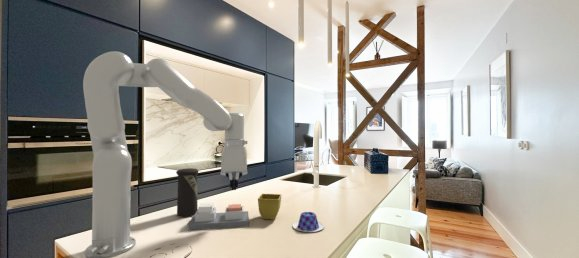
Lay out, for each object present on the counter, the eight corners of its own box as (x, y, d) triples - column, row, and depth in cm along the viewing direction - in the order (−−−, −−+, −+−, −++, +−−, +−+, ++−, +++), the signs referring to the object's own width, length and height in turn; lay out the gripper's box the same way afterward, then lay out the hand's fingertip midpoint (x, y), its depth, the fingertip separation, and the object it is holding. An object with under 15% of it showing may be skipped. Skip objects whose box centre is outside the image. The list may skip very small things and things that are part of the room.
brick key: (240, 215, 98) (241, 207, 98) (227, 216, 97) (227, 208, 97) (240, 211, 103) (241, 204, 103) (228, 212, 102) (228, 204, 102)
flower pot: (281, 214, 109) (281, 194, 109) (278, 221, 100) (278, 199, 100) (261, 214, 110) (261, 193, 110) (257, 221, 101) (257, 198, 101)
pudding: (323, 235, 88) (323, 220, 88) (290, 232, 90) (290, 218, 90) (324, 223, 100) (324, 209, 100) (294, 221, 102) (294, 208, 102)
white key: (211, 214, 96) (212, 206, 96) (198, 215, 95) (198, 207, 95) (213, 210, 101) (213, 202, 101) (200, 211, 100) (200, 203, 100)
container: (193, 217, 104) (193, 170, 105) (172, 217, 105) (172, 169, 105) (201, 211, 113) (201, 167, 114) (181, 211, 113) (182, 167, 114)
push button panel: (248, 226, 95) (249, 212, 95) (188, 230, 91) (188, 216, 91) (248, 215, 107) (248, 204, 107) (194, 219, 103) (194, 207, 103)
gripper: (252, 143, 106) (252, 186, 105) (216, 143, 103) (215, 188, 103) (253, 144, 98) (253, 190, 98) (214, 144, 96) (213, 192, 95)
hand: (233, 189), depth 100 cm, fingers closed
